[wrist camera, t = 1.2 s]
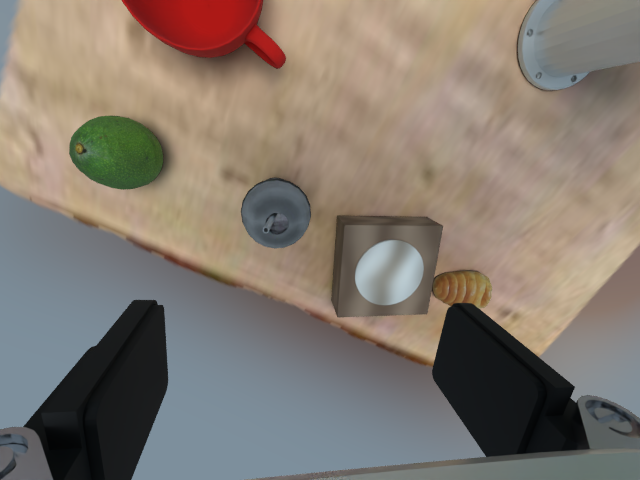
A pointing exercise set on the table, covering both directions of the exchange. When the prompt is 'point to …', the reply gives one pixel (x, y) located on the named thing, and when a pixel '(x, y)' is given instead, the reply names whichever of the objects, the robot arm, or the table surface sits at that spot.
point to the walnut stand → (384, 265)
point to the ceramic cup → (207, 26)
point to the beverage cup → (276, 213)
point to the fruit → (116, 152)
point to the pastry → (463, 288)
